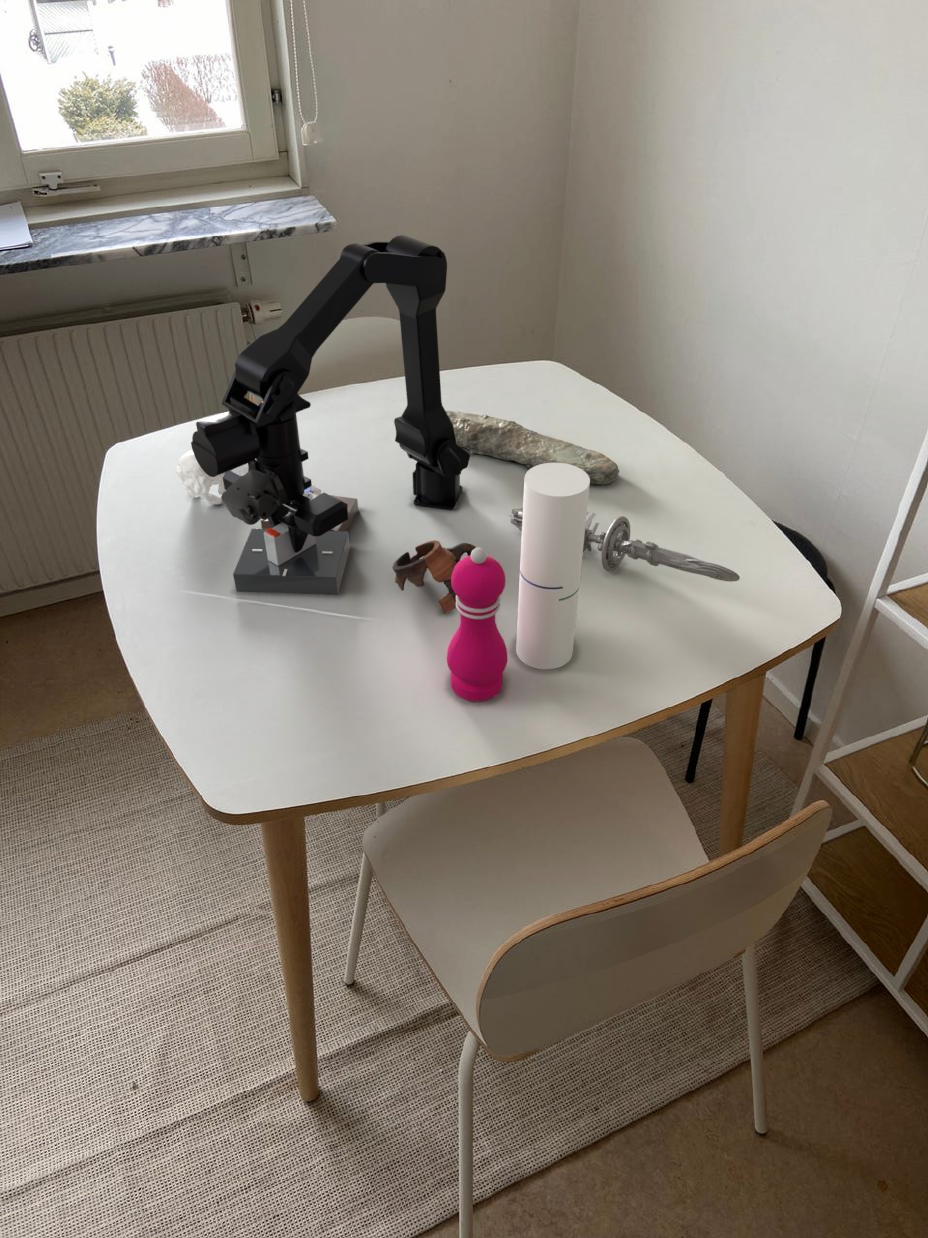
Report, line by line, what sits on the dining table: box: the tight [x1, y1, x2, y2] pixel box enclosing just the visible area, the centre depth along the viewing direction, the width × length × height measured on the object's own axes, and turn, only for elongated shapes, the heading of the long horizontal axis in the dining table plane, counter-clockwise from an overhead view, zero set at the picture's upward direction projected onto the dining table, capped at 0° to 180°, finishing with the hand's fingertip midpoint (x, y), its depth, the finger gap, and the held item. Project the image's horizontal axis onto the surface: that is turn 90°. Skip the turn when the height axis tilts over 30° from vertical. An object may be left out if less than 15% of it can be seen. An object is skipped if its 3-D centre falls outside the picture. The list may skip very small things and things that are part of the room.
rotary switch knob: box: [264, 523, 316, 566], centre depth 127 cm, size 7×2×5 cm, turn 140°
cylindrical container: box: [515, 463, 591, 670], centre depth 109 cm, size 7×7×25 cm
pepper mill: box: [446, 547, 509, 703], centre depth 106 cm, size 7×7×20 cm
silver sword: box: [508, 506, 741, 582], centre depth 128 cm, size 8×35×8 cm
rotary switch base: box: [232, 528, 351, 596], centre depth 129 cm, size 14×11×3 cm
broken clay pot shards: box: [391, 539, 477, 614], centre depth 125 cm, size 12×10×8 cm
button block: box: [260, 485, 359, 532], centre depth 138 cm, size 12×9×4 cm
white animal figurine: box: [175, 449, 226, 506], centre depth 144 cm, size 6×8×12 cm
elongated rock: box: [445, 410, 620, 485], centre depth 154 cm, size 35×5×10 cm
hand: (291, 547), depth 128 cm, fingers closed on rotary switch knob, 2 cm apart
